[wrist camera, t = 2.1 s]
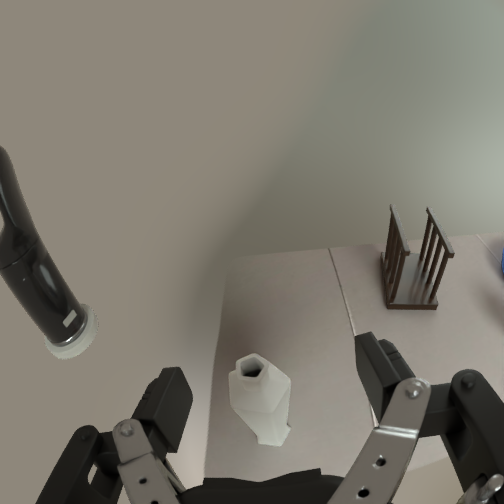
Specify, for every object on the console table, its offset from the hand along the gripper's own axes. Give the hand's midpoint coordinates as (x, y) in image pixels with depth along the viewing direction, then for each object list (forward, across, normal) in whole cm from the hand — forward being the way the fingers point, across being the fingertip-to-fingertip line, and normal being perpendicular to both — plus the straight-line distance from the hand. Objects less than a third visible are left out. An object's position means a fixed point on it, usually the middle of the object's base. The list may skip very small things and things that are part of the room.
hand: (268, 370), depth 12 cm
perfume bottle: (+10, +3, +17) cm, 20 cm away
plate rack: (+28, -21, +11) cm, 37 cm away
